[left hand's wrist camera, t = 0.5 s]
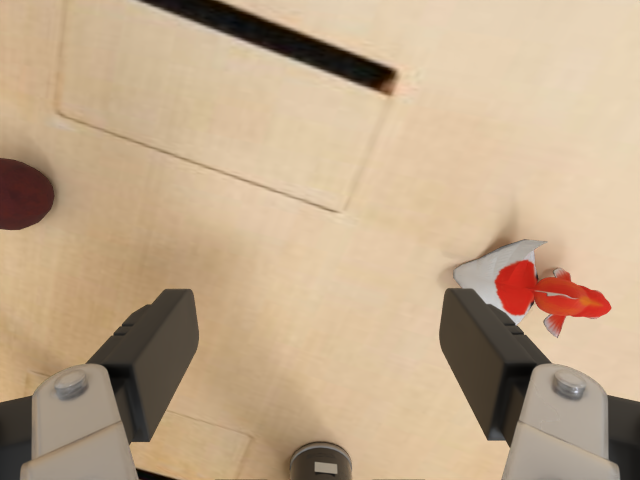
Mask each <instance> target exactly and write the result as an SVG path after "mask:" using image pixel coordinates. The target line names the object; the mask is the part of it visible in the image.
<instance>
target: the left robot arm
mask: <svg viewBox="0 0 640 480" xmlns="http://www.w3.org/2000/svg"><path fill="white" fill-rule="evenodd" d="M439 339H440V345H441V349H442V351H443V353H444V355H445V357H446V359H447V361H448V363H449V365H450V367H451V369H452V371H453V373H454V375H455V377H456V379H457V381H458V383H459V385H460V387H461V389H462V391H463V393H464V395H465V397H466V399H467V401H468V403H469V405H470V407H471V409H472V410H473V412H474V414H475V416H476V418H477V420H478V422H479V424H480V426H481V428H482V430H483V432H484V434H485V436H486V438H487V440H506V442H507V444H508V445H509V447H510V451H509V454H508V458H507V462H506V465H505V469H504V472H503V476H502V479H501V480H640V402H637V401H633V400H628V399H623V398H619V397H614V396H609V395H607V394H606V392H605V391H604V389H603V388H602V387H601V386H600V385H599V384H598V383H597V382H596V381H595V380H593V379H592V378H591V377H589V376H587V375H586V374H584V373H582V372H580V371H578V370H575V369H573V368H570V367H567V366H563V365H559V364H552V363H551V362H550V361H549V360H548V358H547V357H546V356H545V355H544V354H543V353H542V352H541V351H540V350H539V349H538V348H537V346H536V345H535V344H534V343H533V342H532V341H531V340H530V339H529V338H528V337H527V336H526V335H524V332H523V331H522V330H521V329H520V328H519V327H518V326H516V324H515V322H514V321H513V320H512V319H511V318H510V317H509V316H508V315H507V314H506V313H505V312H503V311H502V310H500V309H498V308H497V307H495V306H493V305H492V304H486V303H485V302H484V301H483V300H482V298H481V297H480V296H479V295H478V294H477V293H476V291H475V290H474V289H472V288H448V289H447V290H446V291H445V295H444V301H443V308H442V316H441V323H440V330H439ZM198 341H199V330H198V322H197V315H196V308H195V301H194V295H193V292H192V290H191V289H165V290H164V291H163V292H162V293H161V294H160V295H159V296H158V298H157V299H156V300H155V301H154V302H153V303H152V304H151V305H145V306H144V307H142V308H140V309H139V310H137V311H135V312H134V313H132V314H131V315H130V316H129V317H128V318H127V319H126V321H125V322H124V323H123V324H122V327H119V328H118V329H117V330H116V331H115V332H114V335H113V336H111V337H110V338H109V339H108V340H107V341H106V342H105V343H104V344H103V345H102V347H101V348H100V349H99V350H98V351H97V352H96V353H95V354H94V355H93V356H92V357H91V358H90V359H89V361H88V362H87V363H86V364H81V365H77V366H73V367H70V368H67V369H65V370H62V371H60V372H58V373H56V374H54V375H53V376H51V377H49V378H48V379H47V380H45V381H44V382H43V383H42V384H41V385H40V386H39V387H38V388H37V389H36V391H35V392H34V394H33V395H32V396H28V397H24V398H19V399H15V400H10V401H5V402H1V403H0V480H139V479H138V476H137V472H136V469H135V465H134V462H133V458H132V454H131V451H130V447H129V445H130V443H131V442H150V440H151V438H152V436H153V434H154V432H155V430H156V428H157V426H158V424H159V422H160V420H161V419H162V417H163V415H164V413H165V411H166V409H167V407H168V405H169V403H170V401H171V399H172V397H173V395H174V393H175V391H176V389H177V387H178V385H179V383H180V382H181V380H182V378H183V376H184V374H185V372H186V370H187V368H188V366H189V364H190V362H191V360H192V358H193V356H194V354H195V352H196V350H197V347H198ZM290 480H352V463H351V459H350V457H349V455H348V454H347V452H346V451H344V450H343V449H342V448H340V447H338V446H336V445H334V444H330V443H312V444H308V445H306V446H303V447H302V448H300V449H299V450H297V451H296V452H295V453H294V455H293V456H292V458H291V462H290Z"/></svg>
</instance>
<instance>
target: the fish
mask: <svg viewBox="0 0 640 480" xmlns="http://www.w3.org/2000/svg"><path fill="white" fill-rule="evenodd" d="M544 243H547V242H545V241H535V240H525V239H524V240H521V241H518V242H515V243H512V244H509V245H505V246H502V247H500V248H498V249H496V250H494V251H492V252H491V253H489V254H487V255H485V256H483V257H481V258H479V259H477V260H473V261H470V262H467V263H465V264H462V265H460V266H459V267H457V268H456V269H454V274H453V278H454V279H455V281H456V282H457V283H458V284H459V285H460V286H461V287H462V288H472V289H474V290H475V291H476V293H477V294H478V295H479V296H480V297H481V298H482V300H483V301H484V302H485V303H486V304H492V305H493V306H495V307H497V308H498V309H500V310H502V311H503V312H505V313H506V314H507V315H508V316H509V317H510V318H511V319H512V320H513V321H514V322H515V324H516V325H517V324H518V323H519V322H520V321H521V320H522V319H523V317H524V316H525V315H526V313H527V312H528V311H529V309H530V308H531V306H532V305H533V304H534V300H535V302H536V304H537V306H538V307H539V308H540V309H541V310H543V311H545V312H547V313H549V314H550V315H549V316H548V317H547V318H545V320H544V325H545V326H546V328H547V330H548V331H549V332H550V333H551V334H553V335H554V336H555V337H557V338H558V336H559V334H560V331H561V329H562V325H563V323H564V320H565V318H566V316H568V315H571V316H573V317H587V318H590V319H597V318H599V317H600V316H602V315H604V314H607V313H608V312H609V311H610V310H611V306H610V303H609V302H608V301H607V300H606V299H605V297H604V296H603V294H602V293H601V292H599V291H597V290H590V289H588V288H586V287H584V286H580V285H577V284H575V283H573V282H571V277H570V274H569V273H568V272H566V271H565V270H563V269H562V268H557V269H555V270H554V271H553V274H554V275H555V277H548V278H544V279H542V280H540V281H539V282H538V275H537V271H536V267H535V256H534V250H535V249H536V248H537V247H539V246H541V245H542V244H544ZM537 282H538V283H537Z"/></svg>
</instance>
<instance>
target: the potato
mask: <svg viewBox="0 0 640 480" xmlns="http://www.w3.org/2000/svg"><path fill="white" fill-rule="evenodd" d="M53 200H54V191H53V187H52V185H51V184H50V182H49V180H48V179H47V178H46V177H45V176H44V175H43V174H42V173H40V172H39V171H38V170H36V169H34V168H32V167H30V166H28V165H26V164H24V163H22V162H19V161H16V160H11V159H4V158H0V229H5V230H21V229H23V228H26V227H29V226H31V225H33V224H36V223H38V222H39V221H40V220H41V219H42V218H43V217H44V216H45V215H46V214H47V213H48V212H49V210H50V209H51V207H52V204H53Z"/></svg>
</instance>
